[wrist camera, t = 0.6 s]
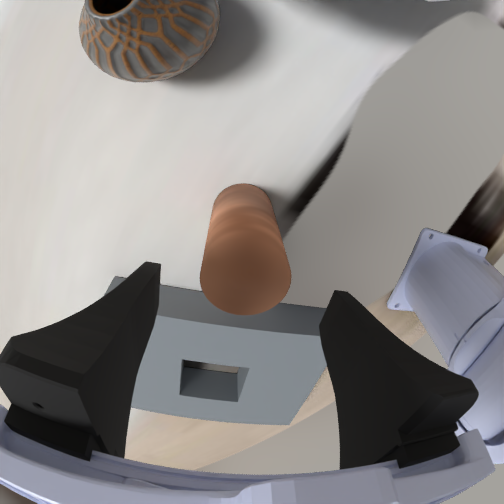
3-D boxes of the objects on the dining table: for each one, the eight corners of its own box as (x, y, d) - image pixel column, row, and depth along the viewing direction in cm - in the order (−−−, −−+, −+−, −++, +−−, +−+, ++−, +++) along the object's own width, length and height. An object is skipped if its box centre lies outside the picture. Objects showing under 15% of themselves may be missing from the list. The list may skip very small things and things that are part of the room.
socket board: (331, 308, 25) (342, 337, 22) (285, 399, 31) (288, 425, 28) (114, 276, 22) (99, 303, 19) (126, 379, 29) (119, 404, 26)
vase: (160, 106, 16) (100, 116, 9) (95, 41, 14) (12, 22, 6) (246, 35, 14) (253, -14, 7) (176, -29, 12) (138, -96, 4)
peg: (278, 190, 19) (302, 248, 12) (264, 243, 21) (278, 320, 14) (218, 178, 19) (206, 232, 12) (208, 233, 21) (195, 308, 14)
